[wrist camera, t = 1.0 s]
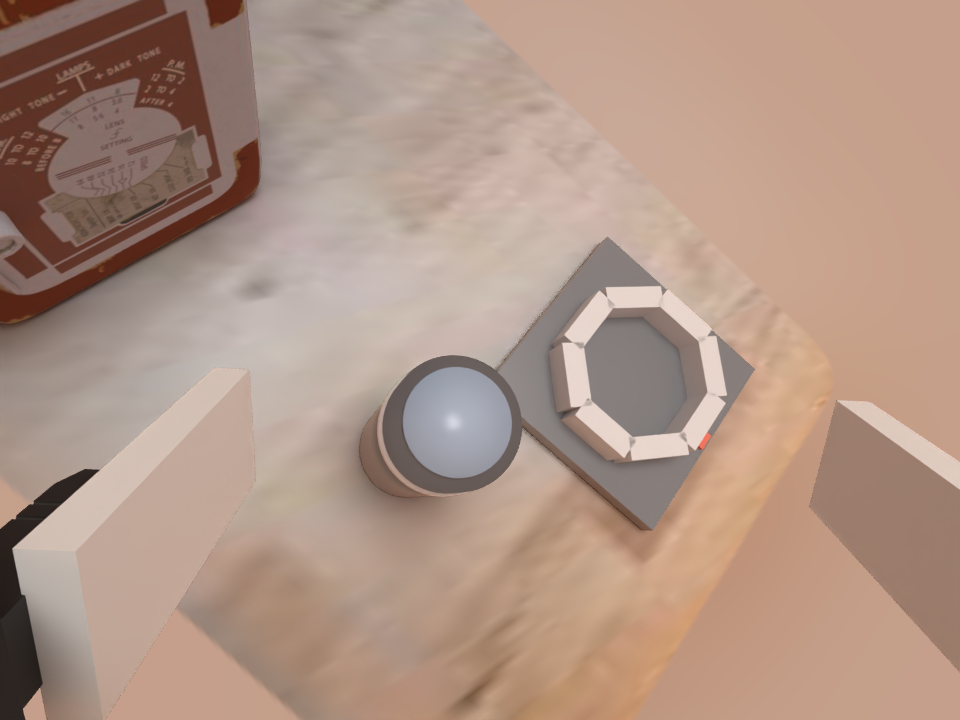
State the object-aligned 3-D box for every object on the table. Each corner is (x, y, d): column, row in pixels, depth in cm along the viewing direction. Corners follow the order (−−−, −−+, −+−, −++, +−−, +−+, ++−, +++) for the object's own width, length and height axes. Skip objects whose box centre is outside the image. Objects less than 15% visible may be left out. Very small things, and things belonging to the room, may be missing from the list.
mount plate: (480, 389, 36) (497, 378, 33) (598, 244, 40) (623, 222, 37) (641, 529, 36) (672, 531, 33) (742, 372, 40) (777, 362, 38)
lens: (336, 454, 33) (355, 429, 22) (402, 379, 35) (448, 322, 24) (416, 522, 33) (472, 529, 23) (477, 444, 35) (556, 416, 24)
